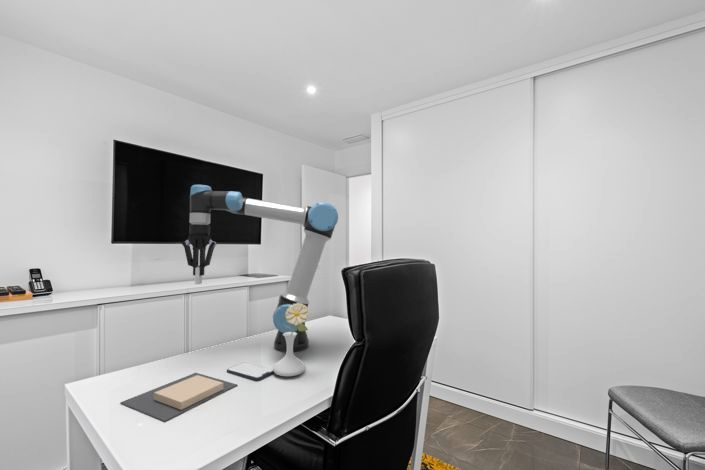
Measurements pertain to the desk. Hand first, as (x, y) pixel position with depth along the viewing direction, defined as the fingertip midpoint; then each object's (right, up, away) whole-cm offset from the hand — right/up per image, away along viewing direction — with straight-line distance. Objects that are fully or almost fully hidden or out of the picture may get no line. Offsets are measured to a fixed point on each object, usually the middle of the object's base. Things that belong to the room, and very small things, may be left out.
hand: (198, 283), depth 128 cm
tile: (+7, -27, -29) cm, 40 cm away
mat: (+10, -29, -30) cm, 43 cm away
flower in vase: (+39, -30, -14) cm, 51 cm away
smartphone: (+25, -30, -13) cm, 41 cm away
